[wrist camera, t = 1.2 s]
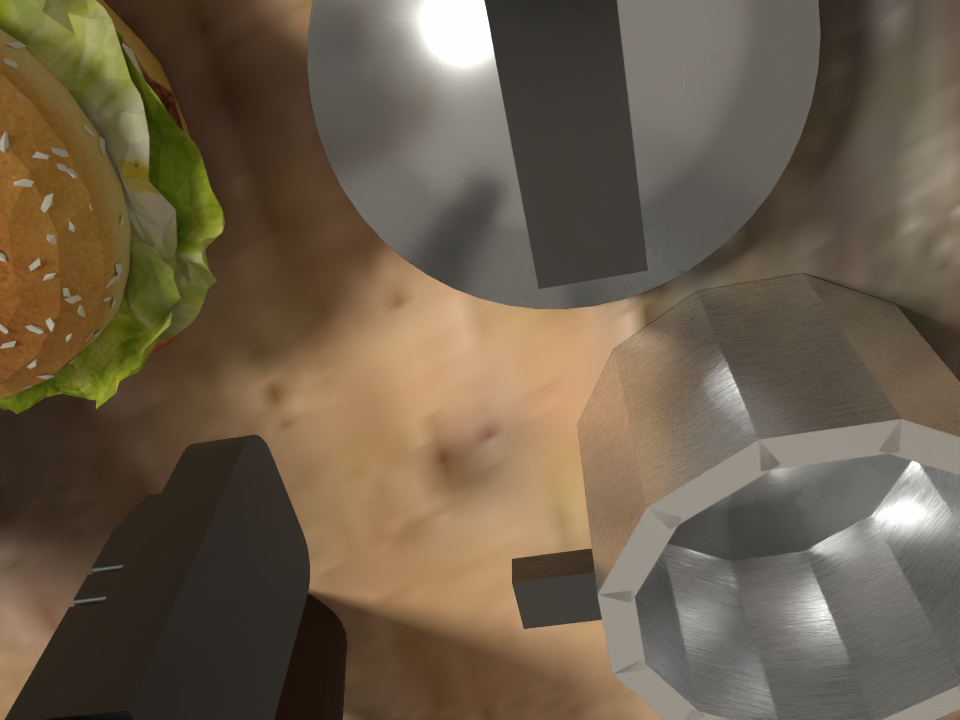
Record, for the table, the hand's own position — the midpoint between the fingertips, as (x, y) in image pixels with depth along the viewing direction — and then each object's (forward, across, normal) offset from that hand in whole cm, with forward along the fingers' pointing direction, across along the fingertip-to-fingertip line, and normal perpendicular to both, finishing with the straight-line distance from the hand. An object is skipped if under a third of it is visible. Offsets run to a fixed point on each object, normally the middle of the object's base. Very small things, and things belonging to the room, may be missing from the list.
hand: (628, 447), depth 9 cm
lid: (+18, 0, 0) cm, 18 cm away
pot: (+18, -5, +14) cm, 23 cm away
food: (+18, +16, -1) cm, 24 cm away
